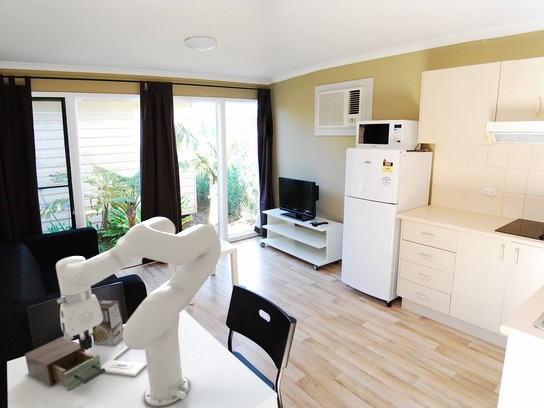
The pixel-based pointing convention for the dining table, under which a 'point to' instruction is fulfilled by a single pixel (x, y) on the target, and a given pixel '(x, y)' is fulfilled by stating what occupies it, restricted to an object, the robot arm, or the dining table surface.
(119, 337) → the coffee box
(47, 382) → the cabinet
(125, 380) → the dining table surface
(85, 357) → the drawer
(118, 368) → the photo frame
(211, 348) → the dining table surface
